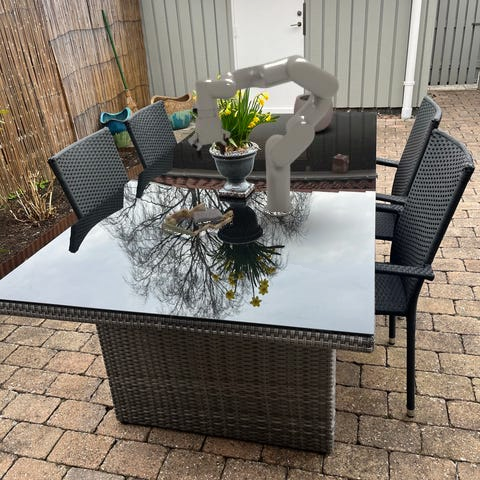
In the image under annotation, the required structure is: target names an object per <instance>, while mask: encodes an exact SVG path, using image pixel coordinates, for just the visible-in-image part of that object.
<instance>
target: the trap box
mask: <svg viewBox="0 0 480 480" xmlns="http://www.w3.org/2000/svg"><path fill="white" fill-rule="evenodd" d="M205 210H206V203H205V202H202V203H200V204H198V205H196V206H194V207H192V208H190V209H185V208H183V207H182V208H181V209H179V210H177V211H175V212H173V213H171V214H170V215H168V216H166V217H165V222H163V223H162V229H163V232H165V233H167V234H171V235H173V234H175V233H174V232H171V231H175V232H178V233H182V234H186V235H190V236H195V235H197V234H198V233H200V232H202V231H204V230H206V229H208V228H212V229H215V230H217V229H219V228H220V227H222V226H224V225H226V224H227V223H229V222H231V221H232V223H230V225H231V224H232V225H233V218H234V212H233V210H229V211H227V212H226V213H224V214H222V220H224V221H222V222H220V223H217V224H215V225H214V224H207V225H203V226H201V228H199V229H197V230H195V231H191V230H188V229H185V228H182V227H179V226H177V225H178V224H180V223H181V222H183V221H184V220H186V219H191V218H193V212H199V211H205ZM232 215H233V216H232ZM230 216H231V217H230ZM232 225H231V226H232ZM165 229H167V230H165ZM168 230H171V231H168Z"/></svg>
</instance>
